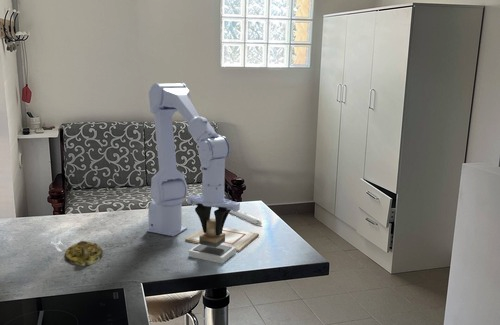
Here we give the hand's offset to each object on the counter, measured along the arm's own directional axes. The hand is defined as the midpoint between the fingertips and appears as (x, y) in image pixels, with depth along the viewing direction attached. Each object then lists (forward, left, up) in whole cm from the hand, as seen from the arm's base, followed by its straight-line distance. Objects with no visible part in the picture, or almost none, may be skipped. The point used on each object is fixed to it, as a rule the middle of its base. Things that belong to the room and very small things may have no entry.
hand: (212, 232), depth 130 cm
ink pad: (0, 0, -6) cm, 6 cm away
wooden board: (-3, +12, -6) cm, 14 cm away
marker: (-5, +32, -7) cm, 33 cm away
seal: (-30, -16, -7) cm, 34 cm away
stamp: (0, 0, -3) cm, 3 cm away
